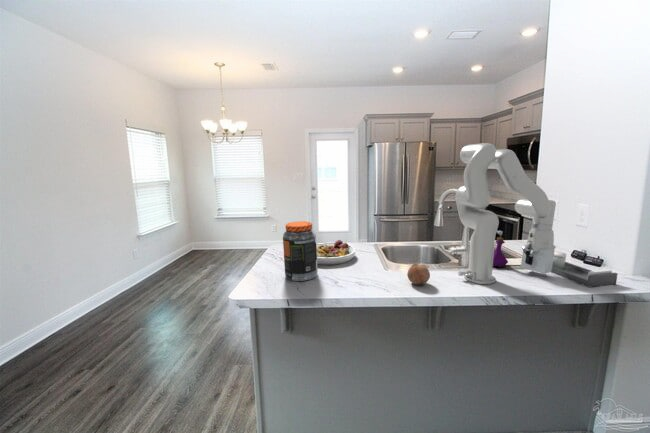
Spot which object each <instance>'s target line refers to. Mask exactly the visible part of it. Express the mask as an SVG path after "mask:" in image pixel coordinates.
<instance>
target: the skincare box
mask: <svg viewBox="0 0 650 433" xmlns="http://www.w3.org/2000/svg"><path fill="white" fill-rule="evenodd" d="M528 248H529V247H528ZM530 249H532V248H530ZM527 250H528V249H527ZM555 251H556V250H555V249H554V250H548V249H543V250H540V252H534V254H533V255H532V257H533V261H532V265H529V264H526V263H525V260H526V255H525V253H524V251H523V250H522V255H521V262H520V263H521V264H520V268H522V269H526V270H529V271H533V272H536V273H540V274H544V275H546V274H549V273H552V272H551V271H552V265H553V258H554V252H555ZM530 253H531V251H530Z"/></svg>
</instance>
